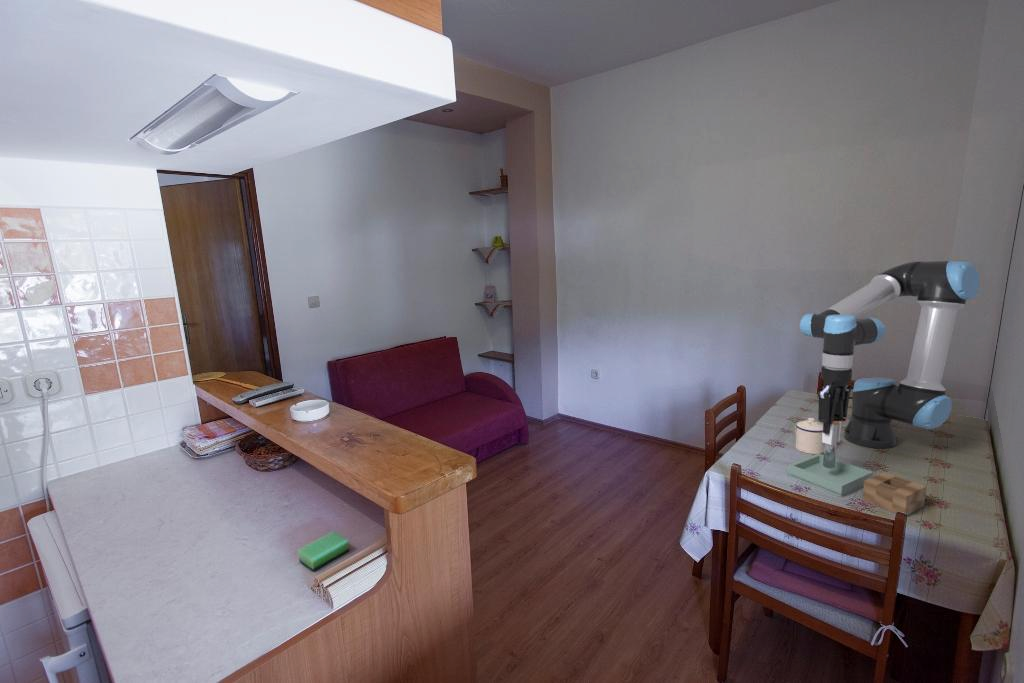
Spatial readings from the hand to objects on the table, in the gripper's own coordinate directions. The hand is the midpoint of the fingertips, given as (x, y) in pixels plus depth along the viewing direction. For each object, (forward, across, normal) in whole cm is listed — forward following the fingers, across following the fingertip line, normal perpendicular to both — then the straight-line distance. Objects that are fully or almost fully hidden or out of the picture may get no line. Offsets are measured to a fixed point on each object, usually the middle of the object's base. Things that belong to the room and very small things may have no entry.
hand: (830, 441), depth 142 cm
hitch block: (+12, 0, +17) cm, 21 cm away
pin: (+8, 0, 0) cm, 8 cm away
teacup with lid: (+12, -17, -17) cm, 27 cm away
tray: (+12, 0, 0) cm, 12 cm away
